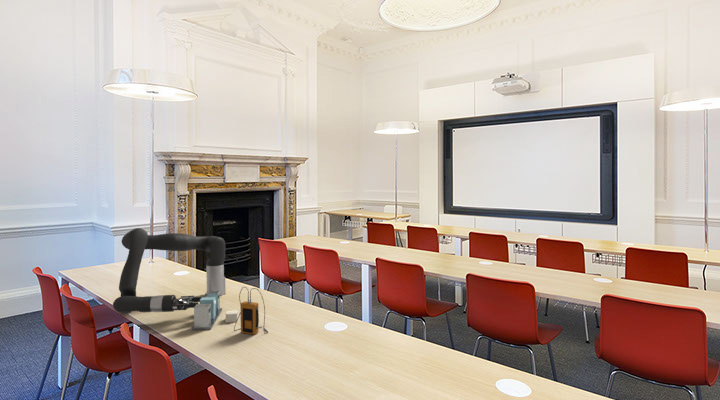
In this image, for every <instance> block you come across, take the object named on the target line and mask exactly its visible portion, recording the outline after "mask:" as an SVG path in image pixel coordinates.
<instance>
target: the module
mask: <svg viewBox="0 0 720 400" xmlns="http://www.w3.org/2000/svg"><path fill="white" fill-rule="evenodd" d="M201 297H202V298H201V299H200V302H199V304H211V319H214V318H215V316H216V300H215V297H205V296H204V297H203V296H201Z"/></svg>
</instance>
